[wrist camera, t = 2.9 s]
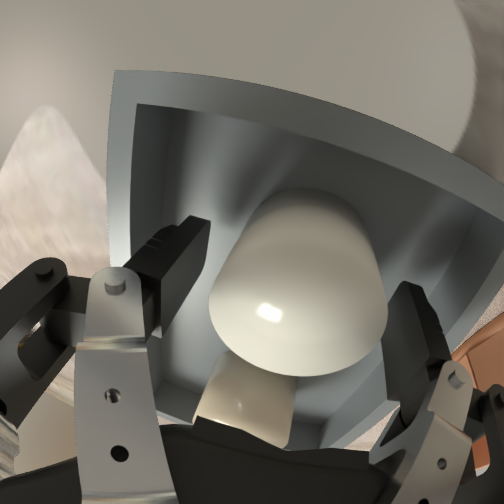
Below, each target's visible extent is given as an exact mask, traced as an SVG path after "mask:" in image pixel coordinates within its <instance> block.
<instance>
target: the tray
mask: <svg viewBox="0 0 504 504" xmlns="http://www.w3.org/2000/svg"><path fill="white" fill-rule="evenodd" d="M296 188H313V189H320V190H324V191H327V192H330V193H332V194H335V195H337V196H339V197H340V198H342V199H344V200H345V201H346V202H348V203H349V204H350V205H351V206H352V207H353V208H354V209H355V210H356V211H357V212H358V213H359V215H360V216H361V217H362V219H363V221H364V223H365V224H366V227H367V230H368V233H369V236H370V239H371V243H372V246H373V250H374V253H375V257H376V260H377V264H378V268H379V272H380V276H381V279H382V283H383V288H384V292H385V296H386V300H387V304H388V302H389V300H390V299H391V297H392V296H393V294H394V292H395V291H396V289H397V287H398V286H399V284H400V283H401V282H402V281H408V282H411V283H414V284H417V285H420V286H422V288H423V290H424V292H425V295H426V297H427V300H428V302H429V303H430V305H431V306H432V307H433V309H434V310H435V311H436V313H437V316H438V318H439V321H440V325H441V327H442V330H443V334H444V335H445V338H446V341H447V344H448V347H449V351H450V354H451V353H452V351H453V350H454V349H455V348H456V347H457V346H458V344H459V343H460V342H461V341H462V340H463V339H464V337H465V336H466V335H467V334H468V332H469V331H470V330H471V329H472V327H473V326H474V325H475V323H476V322H477V321H478V320H479V318H480V317H481V316H482V314H483V313H484V311H485V310H486V309H487V307H488V306H489V305H490V303H491V302H492V300H493V299H494V297H495V296H496V294H497V293H498V291H499V290H500V288H501V287H502V285H503V284H504V185H503V184H502V183H500V182H499V181H497V180H495V179H494V178H492V177H491V176H489V175H488V174H486V173H484V172H483V171H481V170H480V169H478V168H476V167H475V166H473V165H471V164H470V163H468V162H466V161H464V160H463V159H461V158H459V157H457V156H455V155H454V154H452V153H450V152H448V151H446V150H444V149H442V148H440V147H438V146H436V145H434V144H432V143H430V142H428V141H426V140H424V139H422V138H420V137H418V136H416V135H413V134H411V133H409V132H407V131H404V130H402V129H400V128H398V127H395V126H393V125H390V124H388V123H386V122H383V121H381V120H378V119H376V118H373V117H370V116H368V115H365V114H362V113H359V112H356V111H354V110H351V109H348V108H345V107H342V106H339V105H336V104H333V103H329V102H326V101H323V100H319V99H316V98H313V97H309V96H306V95H302V94H298V93H294V92H290V91H286V90H282V89H278V88H273V87H269V86H264V85H260V84H255V83H249V82H244V81H239V80H233V79H226V78H220V77H213V76H205V75H196V74H186V73H177V72H163V71H141V70H115V73H114V80H113V87H112V95H111V104H110V115H109V128H108V146H107V223H108V240H109V253H110V264H111V267H122V266H123V265H124V264H125V263H126V262H127V261H128V260H129V259H130V258H131V257H132V256H133V255H134V254H135V253H136V252H137V251H138V250H139V249H140V248H141V247H142V246H143V245H145V243H146V242H147V241H148V240H149V239H150V238H152V236H153V235H154V234H155V233H156V232H158V231H159V230H160V229H162V228H164V227H166V226H169V225H171V224H173V225H177V226H179V225H180V224H181V223H182V222H183V221H184V220H185V219H186V218H187V217H188V216H189V215H193V216H196V217H200V218H203V219H207V220H210V221H211V229H210V235H209V242H208V249H207V255H206V261H205V265H204V268H203V270H202V273H201V274H200V276H199V278H198V279H197V281H196V283H195V284H194V286H193V288H192V289H191V291H190V292H189V294H188V296H187V297H186V299H185V301H184V302H183V304H182V306H181V307H180V309H179V310H178V312H177V314H176V315H175V317H174V319H173V320H172V322H171V324H170V325H169V327H168V329H167V331H166V332H165V334H164V336H163V337H162V339H161V338H159V337H156V336H154V335H151V336H150V337H149V339H148V340H147V342H146V348H147V356H148V363H149V371H150V378H151V384H152V390H153V396H154V402H155V408H156V413H157V415H158V416H160V417H162V418H165V419H167V420H170V421H172V422H175V423H178V424H187V425H193V421H192V420H193V417H194V415H195V412H196V410H197V407H198V405H199V402H200V400H201V397H202V394H203V392H204V389H205V387H206V384H207V382H208V379H209V377H210V374H211V372H212V369H213V367H214V364H215V362H216V360H217V358H218V357H219V356H221V355H222V354H224V353H226V352H229V351H232V350H231V349H230V348H229V347H228V346H227V345H226V344H225V343H224V342H223V340H222V339H221V338H220V337H219V335H218V333H217V332H216V330H215V328H214V326H213V323H212V321H211V317H210V312H209V296H210V292H211V288H212V286H213V284H214V281H215V279H216V278H217V276H218V274H219V272H220V270H221V268H222V266H223V265H224V263H225V261H226V259H227V257H228V255H229V254H230V252H231V250H232V248H233V246H234V244H235V243H236V241H237V239H238V237H239V235H240V233H241V232H242V230H243V228H244V226H245V224H246V223H247V221H248V219H249V217H250V216H251V214H252V213H253V211H254V210H255V209H256V208H257V207H258V206H259V205H260V204H261V203H262V202H264V201H265V200H266V199H268V198H270V197H271V196H273V195H275V194H277V193H280V192H282V191H286V190H289V189H296ZM399 404H400V402H397V401H389V400H387V390H386V380H385V370H384V361H383V353H382V346H381V339H380V340H379V342H378V343H377V345H376V346H375V347H374V348H373V350H372V351H371V352H370V353H368V354H367V355H366V356H365V357H364V358H362V359H361V360H360V361H358V362H357V363H355V364H353V365H351V366H349V367H347V368H344V369H342V370H339V371H336V372H333V373H329V374H324V375H317V376H298V385H297V392H296V398H295V405H294V411H293V417H292V423H291V429H290V434H289V440H288V444H287V445H286V446H285V447H284V448H282V449H283V450H287V451H297V450H311V449H323V448H339V449H343V448H344V447H346V446H347V445H349V444H350V443H351V442H353V441H354V440H356V439H357V438H358V437H360V436H361V435H362V434H364V433H365V432H366V431H368V430H369V429H370V428H372V427H373V426H374V425H375V424H377V423H378V422H379V421H380V420H382V419H383V418H384V417H385V416H387V415H388V414H389V413H390V412H391V411H392V410H394V409H395V408H396V407H397V406H398V405H399Z"/></svg>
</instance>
